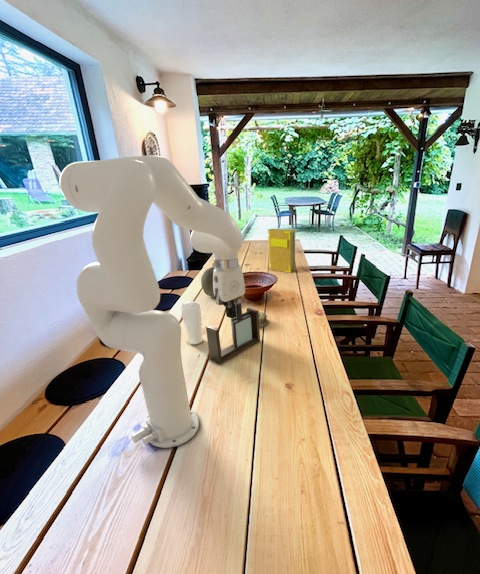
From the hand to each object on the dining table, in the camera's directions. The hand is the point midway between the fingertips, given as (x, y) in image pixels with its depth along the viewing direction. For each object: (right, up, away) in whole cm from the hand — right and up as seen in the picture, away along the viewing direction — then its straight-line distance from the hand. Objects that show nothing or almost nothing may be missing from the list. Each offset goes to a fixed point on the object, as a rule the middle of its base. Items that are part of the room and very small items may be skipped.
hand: (231, 316), depth 108 cm
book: (+21, +31, +100) cm, 106 cm away
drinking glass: (-15, -9, +14) cm, 23 cm away
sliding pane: (+3, -10, +8) cm, 13 cm away
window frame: (+1, -12, +7) cm, 14 cm away
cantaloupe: (-14, +11, +59) cm, 62 cm away
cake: (+7, -2, +27) cm, 28 cm away
